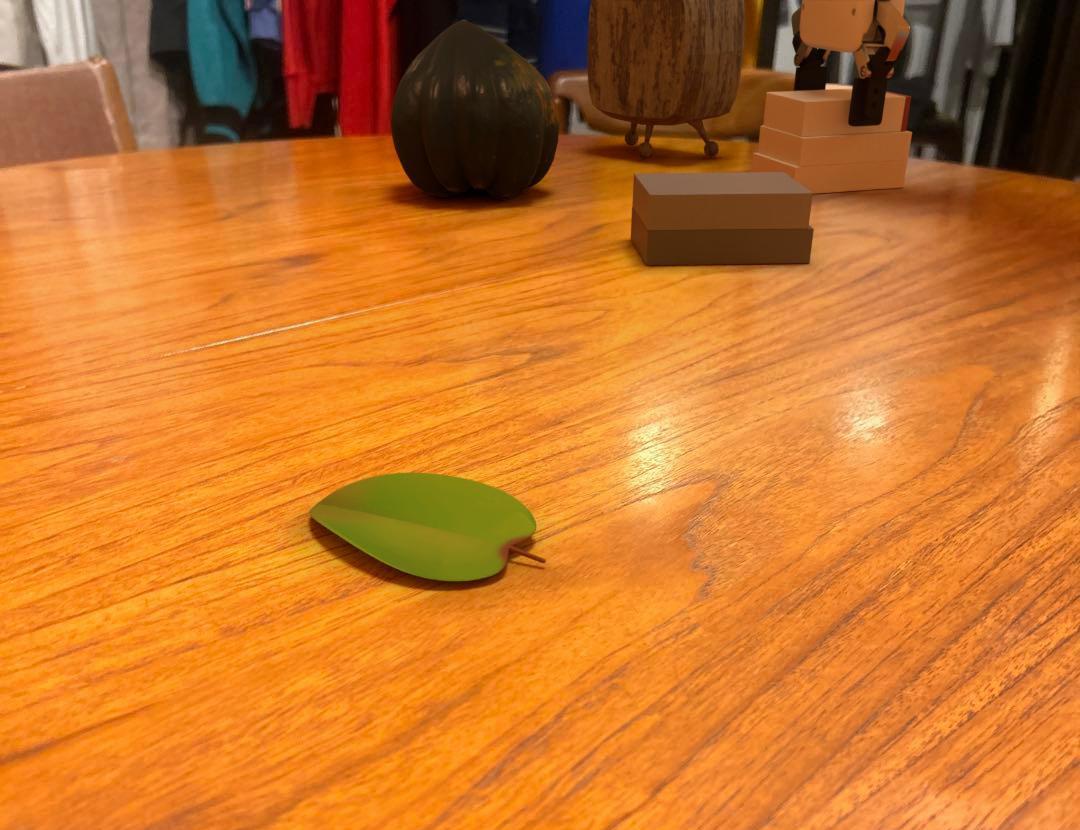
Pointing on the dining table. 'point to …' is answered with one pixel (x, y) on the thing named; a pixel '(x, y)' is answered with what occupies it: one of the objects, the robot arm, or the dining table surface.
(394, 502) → the decorative leaf
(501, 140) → the squash
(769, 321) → the dining table surface
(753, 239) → the brown box
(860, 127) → the tan box
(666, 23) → the tabletop clock
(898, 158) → the orange lidded box
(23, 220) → the dining table surface
